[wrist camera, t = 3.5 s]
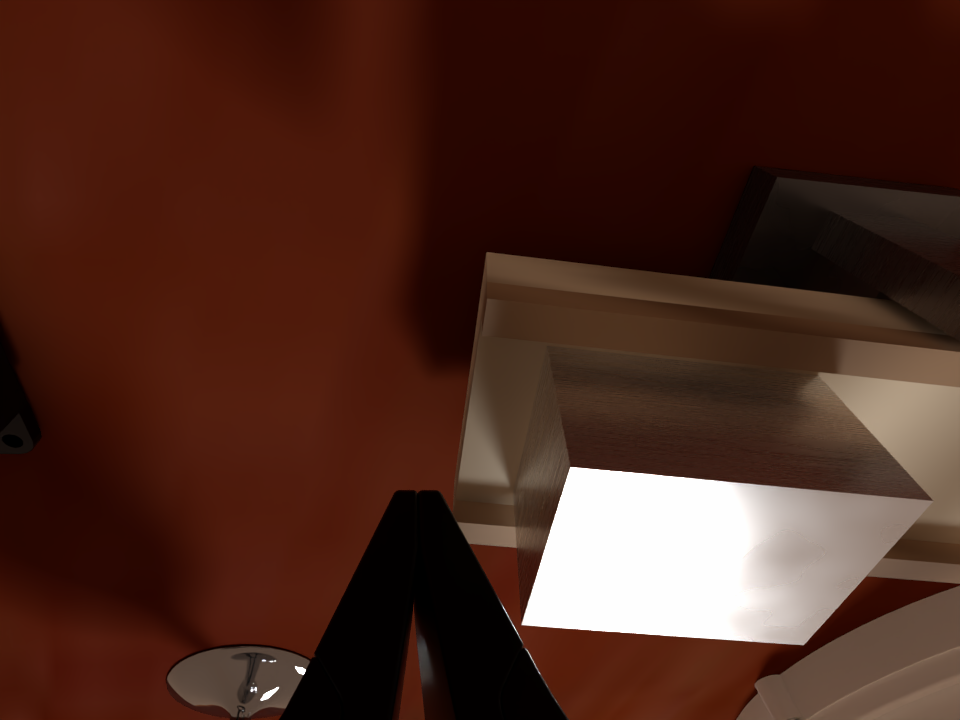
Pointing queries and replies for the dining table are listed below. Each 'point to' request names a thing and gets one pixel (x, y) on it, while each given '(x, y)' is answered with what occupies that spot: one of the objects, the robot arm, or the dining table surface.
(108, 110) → the dining table surface
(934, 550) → the beam
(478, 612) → the robot arm
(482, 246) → the dining table surface
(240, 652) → the wine glass
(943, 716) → the dome cover
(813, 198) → the pivot stand
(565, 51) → the dining table surface
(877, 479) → the steel block
